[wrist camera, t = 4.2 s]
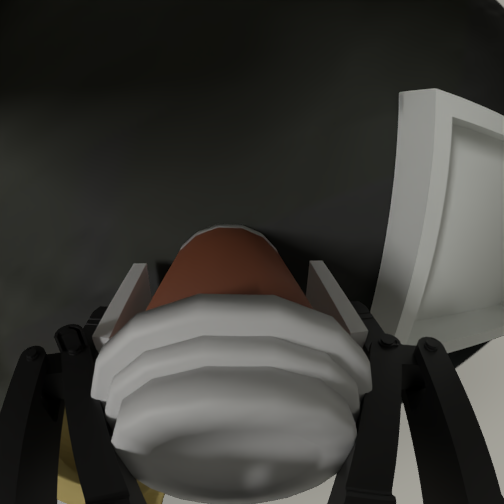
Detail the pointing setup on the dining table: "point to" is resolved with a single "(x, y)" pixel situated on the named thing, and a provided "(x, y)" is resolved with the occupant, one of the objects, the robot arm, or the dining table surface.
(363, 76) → the dining table surface
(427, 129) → the white square tray
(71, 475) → the cheese
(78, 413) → the robot arm
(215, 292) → the coffee cup
